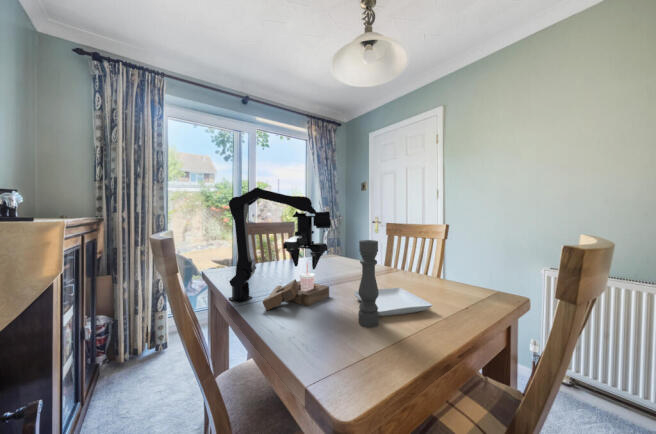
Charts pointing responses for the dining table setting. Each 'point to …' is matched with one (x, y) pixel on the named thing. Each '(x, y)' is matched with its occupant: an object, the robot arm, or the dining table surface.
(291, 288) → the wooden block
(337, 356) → the dining table surface
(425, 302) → the salad plate
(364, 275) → the candle holder
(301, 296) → the holder block
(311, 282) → the beverage cup
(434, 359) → the dining table surface
